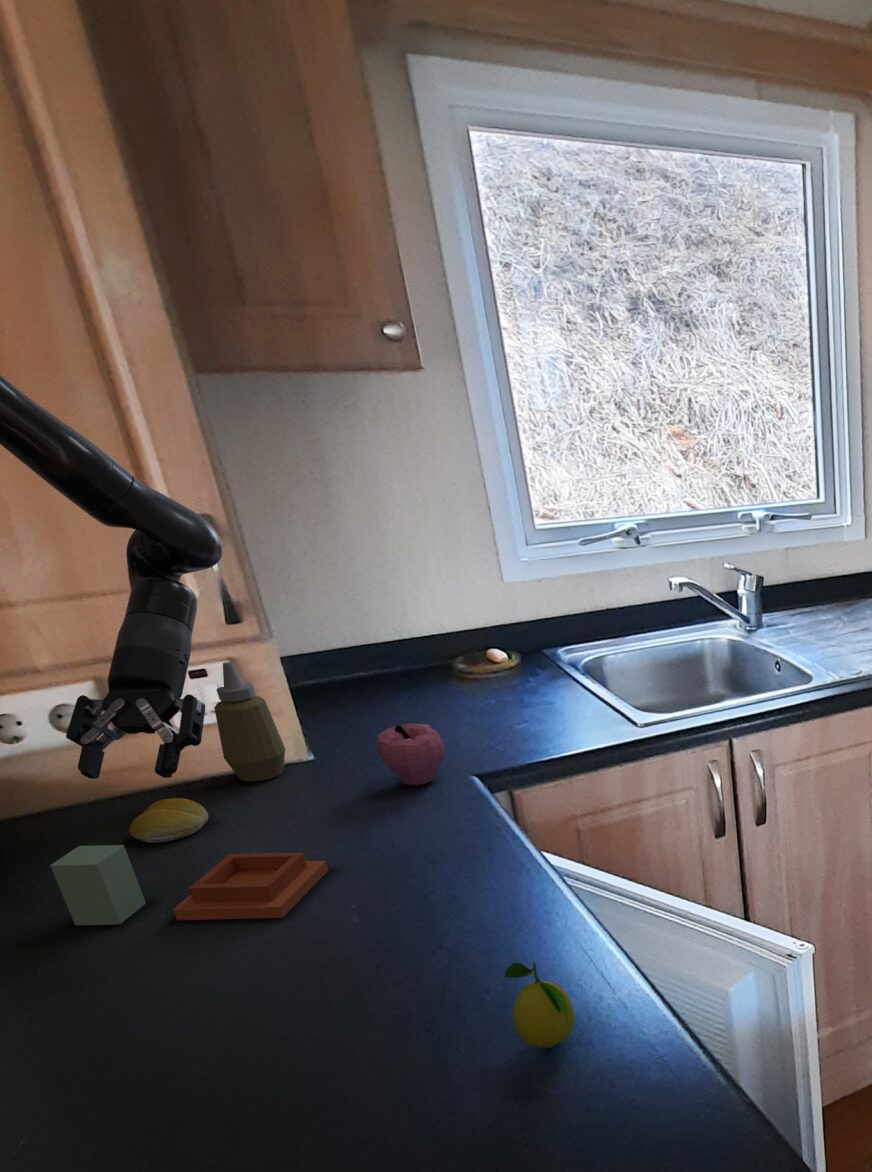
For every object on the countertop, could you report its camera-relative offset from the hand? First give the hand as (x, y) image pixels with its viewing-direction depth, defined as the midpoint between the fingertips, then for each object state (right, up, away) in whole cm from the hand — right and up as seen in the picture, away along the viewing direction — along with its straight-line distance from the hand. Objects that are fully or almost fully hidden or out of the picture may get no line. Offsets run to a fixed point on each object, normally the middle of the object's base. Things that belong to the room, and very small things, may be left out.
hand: (126, 776), depth 128 cm
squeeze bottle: (-7, +2, +35) cm, 36 cm away
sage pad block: (+1, -17, -3) cm, 17 cm away
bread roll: (-7, -6, +17) cm, 20 cm away
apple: (+18, +1, +34) cm, 38 cm away
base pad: (+15, -15, +2) cm, 21 cm away
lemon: (+61, -29, -24) cm, 72 cm away
